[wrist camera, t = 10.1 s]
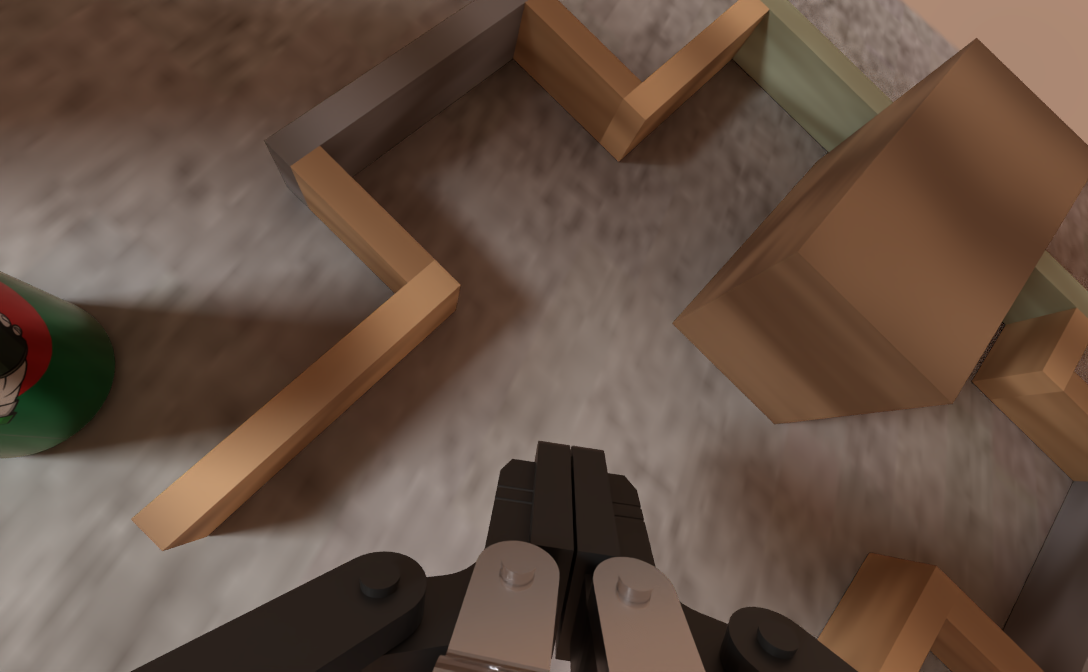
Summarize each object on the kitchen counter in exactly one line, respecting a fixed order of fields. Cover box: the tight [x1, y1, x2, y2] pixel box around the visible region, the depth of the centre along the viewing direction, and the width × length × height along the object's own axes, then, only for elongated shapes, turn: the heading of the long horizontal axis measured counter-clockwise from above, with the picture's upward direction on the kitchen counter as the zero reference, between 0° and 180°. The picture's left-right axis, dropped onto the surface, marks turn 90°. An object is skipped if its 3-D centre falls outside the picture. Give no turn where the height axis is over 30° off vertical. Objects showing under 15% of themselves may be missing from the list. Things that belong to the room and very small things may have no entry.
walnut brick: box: [672, 38, 1088, 424], centre depth 20 cm, size 12×6×8 cm, turn 136°
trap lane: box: [131, 0, 1088, 672], centre depth 20 cm, size 31×34×3 cm
